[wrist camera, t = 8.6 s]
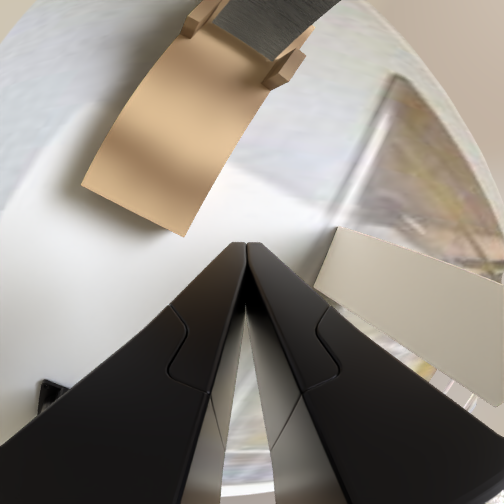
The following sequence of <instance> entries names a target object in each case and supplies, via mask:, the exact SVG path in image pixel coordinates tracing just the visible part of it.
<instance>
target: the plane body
mask: <svg viewBox="0 0 504 504" xmlns="http://www.w3.org/2000/svg"><path fill="white" fill-rule="evenodd" d="M229 1H230V0H203V1H202V2H201V3H200V4H199V5H198V6H197V7H196V8H195V9H194V10H193V11H192V12H191V13H190V14H189V15H188V16H187V18H186V20H185V23H184V25H183V28H182V30H181V32H180V34H179V35H178V36H177V38H176V39H175V40H174V41H173V42H172V43H171V45H170V46H169V47H168V48H167V49H166V51H165V52H164V53H163V54H162V56H161V57H160V58H159V59H158V61H157V62H156V63H155V64H154V66H153V67H152V68H151V70H150V71H149V72H148V74H147V75H146V76H145V78H144V79H143V80H142V82H141V83H140V85H139V86H138V87H137V89H136V90H135V92H134V93H133V95H132V96H131V97H130V99H129V100H128V102H127V103H126V105H125V106H124V108H123V110H122V111H121V113H120V114H119V116H118V117H117V119H116V121H115V122H114V124H113V126H112V127H111V129H110V131H109V132H108V134H107V136H106V137H105V139H104V141H103V143H102V145H101V146H100V148H99V150H98V152H97V154H96V155H95V157H94V159H93V161H92V163H91V165H90V167H89V169H88V171H87V173H86V175H85V177H84V179H83V181H82V183H81V186H83V187H85V188H87V189H89V190H91V191H93V192H95V193H97V194H99V195H101V196H103V197H105V198H106V199H108V200H110V201H112V202H114V203H116V204H118V205H120V206H122V207H124V208H126V209H128V210H130V211H132V212H134V213H136V214H138V215H140V216H142V217H144V218H146V219H148V220H150V221H152V222H154V223H156V224H158V225H160V226H162V227H164V228H166V229H168V230H170V231H172V232H174V233H176V234H178V235H180V236H182V237H185V235H186V233H187V231H188V229H189V227H190V225H191V223H192V222H193V220H194V218H195V216H196V214H197V212H198V211H199V209H200V207H201V205H202V203H203V201H204V200H205V198H206V196H207V194H208V192H209V191H210V189H211V187H212V185H213V184H214V182H215V180H216V178H217V177H218V175H219V173H220V171H221V170H222V168H223V166H224V165H225V163H226V161H227V160H228V158H229V156H230V155H231V153H232V151H233V150H234V148H235V146H236V145H237V143H238V141H239V140H240V138H241V136H242V135H243V133H244V131H245V130H246V128H247V127H248V125H249V123H250V122H251V120H252V119H253V117H254V116H255V114H256V112H257V111H258V109H259V108H260V106H261V105H262V103H263V102H264V100H265V99H266V97H267V96H268V94H269V92H270V91H271V90H273V89H275V88H277V87H279V86H281V85H283V84H285V83H287V82H289V81H290V79H291V78H292V76H293V75H294V73H295V72H296V70H297V69H298V67H299V66H300V64H301V63H302V61H303V60H304V59H305V57H306V55H305V54H304V53H302V52H301V51H300V50H299V49H300V48H301V46H302V45H303V44H304V42H305V41H306V39H307V38H308V37H309V35H310V34H311V33H312V31H313V30H314V29H315V27H314V26H313V25H311V26H310V27H309V28H307V29H306V30H305V31H304V32H303V33H302V34H301V35H300V36H299V37H298V38H296V39H295V40H294V41H293V42H292V43H291V44H290V45H289V46H288V47H287V48H286V49H285V50H284V51H283V52H282V53H281V54H280V55H279V56H278V57H277V58H276V59H275V60H274V61H273V62H272V61H270V60H269V59H268V58H266V57H265V56H263V55H262V54H260V53H259V52H258V51H256V50H255V49H253V48H252V47H250V46H249V45H247V44H246V43H244V42H243V41H241V40H240V39H238V38H236V37H235V36H233V35H232V34H230V33H228V32H227V31H225V30H224V29H222V28H220V27H219V26H217V25H215V24H213V23H212V21H213V20H214V19H215V18H216V16H217V15H218V14H219V13H220V12H221V10H222V9H223V8H224V7H225V6H226V4H227V3H228V2H229Z"/></svg>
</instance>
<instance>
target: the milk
mask: <svg viewBox="0 0 504 504" xmlns="http://www.w3.org/2000/svg"><path fill="white" fill-rule="evenodd" d="M314 288H315V289H317V290H318V291H320V292H321V293H323V294H324V295H326V296H327V297H329V298H330V299H332V300H334V301H335V302H337V303H338V304H340V305H341V306H343V307H344V308H346V309H347V310H349V311H350V312H352V313H353V314H355V315H356V316H358V317H359V318H361V319H362V320H364V321H365V322H367V323H368V324H370V325H372V326H373V327H375V328H376V329H378V330H379V331H381V332H382V333H384V334H385V335H387V336H388V337H390V338H391V339H393V340H394V341H396V342H397V343H399V344H400V345H402V346H403V347H405V348H406V349H408V350H409V351H411V352H412V353H414V354H415V355H417V356H418V357H420V358H421V359H423V360H424V361H426V362H427V363H429V364H430V365H432V366H433V367H435V368H436V369H438V370H439V371H441V372H442V373H444V374H445V375H447V376H449V377H450V378H452V379H453V380H455V381H456V382H458V383H459V384H461V385H462V386H464V387H465V388H467V389H468V390H470V391H471V392H472V393H474V394H475V395H477V396H478V397H480V398H481V399H483V400H485V401H486V402H487V403H489V404H490V405H492V406H494V407H498V406H499V405H501V404H502V403H504V285H503V284H500V283H498V282H495V281H493V280H490V279H488V278H485V277H483V276H480V275H478V274H475V273H473V272H470V271H468V270H465V269H463V268H460V267H457V266H455V265H452V264H449V263H447V262H444V261H441V260H439V259H436V258H433V257H430V256H428V255H425V254H422V253H419V252H416V251H414V250H411V249H408V248H405V247H402V246H399V245H396V244H393V243H390V242H387V241H384V240H381V239H378V238H375V237H372V236H369V235H366V234H363V233H360V232H357V231H354V230H351V229H347V228H344V227H341V226H338V228H337V231H336V233H335V236H334V238H333V241H332V243H331V246H330V248H329V251H328V253H327V255H326V258H325V260H324V263H323V265H322V267H321V270H320V272H319V275H318V277H317V279H316V281H315V284H314Z"/></svg>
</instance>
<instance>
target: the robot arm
mask: <svg viewBox="0 0 504 504" xmlns="http://www.w3.org/2000/svg"><path fill="white" fill-rule="evenodd" d="M245 309H246V317H247V324H248V330H249V336H250V342H251V348H252V354H253V360H254V366H255V371H256V377H257V383H258V389H259V394H260V400H261V406H262V411H263V417H264V422H265V428H266V433H267V439H268V444H269V450H270V455H271V461H272V468H273V478H274V489H275V501H276V504H504V437H502V436H500V435H499V434H497V433H496V432H494V431H493V430H492V429H490V428H489V427H488V426H486V425H485V424H484V423H482V422H481V421H480V420H478V419H477V418H476V417H474V416H473V415H472V414H470V413H469V412H468V411H466V410H465V409H464V408H462V407H461V406H460V405H458V404H457V403H456V402H454V401H453V400H452V399H450V398H449V397H447V396H446V395H445V394H443V393H442V392H441V391H439V390H438V389H437V388H435V387H434V386H433V385H431V384H430V383H429V382H427V381H426V380H425V379H423V378H422V377H421V376H419V375H418V374H417V373H415V372H414V371H413V370H411V369H410V368H409V367H407V366H406V365H405V364H403V363H402V362H400V361H399V360H398V359H396V358H395V357H394V356H392V355H391V354H390V353H388V352H387V351H386V350H384V349H383V348H382V347H380V346H379V345H378V344H376V343H375V342H374V341H372V340H371V339H370V338H369V337H367V336H366V335H365V334H363V333H362V332H361V331H360V330H358V329H357V328H356V327H355V326H354V325H352V324H351V323H350V322H349V321H348V320H347V319H345V318H344V317H343V316H342V315H341V314H340V313H339V312H338V311H337V310H335V309H334V308H333V307H332V306H330V305H329V304H328V303H327V302H326V301H325V300H324V299H323V298H322V297H320V296H319V295H318V294H317V293H316V292H315V291H314V290H313V289H312V288H311V287H310V286H308V285H307V284H306V283H305V282H304V281H303V280H302V279H301V278H300V277H299V276H297V275H296V274H295V273H294V272H293V271H292V270H291V269H290V268H289V267H288V266H286V265H285V264H284V263H283V262H282V261H281V260H280V259H279V258H278V257H276V256H275V255H274V254H273V253H272V252H271V251H270V250H269V249H268V248H266V247H265V246H264V245H263V244H262V243H260V242H248V243H247V244H246V243H244V242H232V243H230V244H229V245H228V246H227V247H226V248H225V249H224V250H223V251H222V252H221V253H220V254H219V255H218V256H217V257H216V258H215V259H214V260H213V261H212V262H211V263H210V264H209V265H208V266H207V267H206V268H205V269H204V270H203V271H202V272H201V273H200V274H199V275H198V276H197V277H196V278H195V279H194V280H193V281H192V282H191V283H190V284H189V285H188V286H187V287H186V288H185V289H184V290H183V291H182V292H181V293H180V294H179V295H178V296H177V297H176V298H175V299H174V300H173V301H172V302H171V303H170V304H169V305H167V306H166V307H165V308H164V309H163V310H162V311H161V312H160V313H159V314H158V315H157V316H156V317H155V318H154V319H153V320H152V321H151V322H150V323H149V324H148V325H147V326H146V327H145V328H144V329H142V330H141V331H140V332H139V333H138V334H137V335H135V336H134V337H133V338H132V339H131V340H130V341H128V342H127V343H126V344H125V345H124V346H122V347H121V348H120V349H119V350H117V351H116V352H115V353H114V354H112V355H111V356H110V357H109V358H108V359H106V360H105V361H104V362H103V363H101V364H100V365H99V366H98V367H96V368H95V369H94V370H93V371H92V372H90V373H89V374H88V375H87V376H85V377H84V378H83V379H82V380H80V381H79V382H78V383H77V384H76V385H74V386H73V387H72V388H71V389H68V388H65V387H63V386H60V385H58V384H55V383H53V382H50V381H48V380H43V381H42V384H41V390H40V397H39V405H38V414H37V417H35V418H34V419H33V420H32V421H31V422H29V423H28V424H27V425H26V426H25V427H23V428H22V429H21V430H20V431H19V432H17V433H16V434H15V435H14V436H13V437H11V438H10V439H9V440H8V441H7V442H5V443H4V444H3V445H1V446H0V504H220V496H221V485H222V474H223V465H224V458H225V451H226V444H227V437H228V430H229V424H230V417H231V410H232V403H233V397H234V390H235V383H236V376H237V369H238V362H239V356H240V349H241V342H242V335H243V328H244V321H245ZM46 385H47V386H46Z"/></svg>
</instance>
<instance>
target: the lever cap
mask: <svg viewBox="0 0 504 504" xmlns="http://www.w3.org/2000/svg"><path fill="white" fill-rule="evenodd" d="M339 1H341V0H230V1H229V2H228V3H227V4H226V6H225V7H224V8H223V9H222V10H221V12H220V13H219V14H218V15H217V16H216V18H215V19H214V20H213V21H212V23H213V24H215V25H217V26H219V27H220V28H222V29H224V30H225V31H227V32H228V33H230V34H232V35H233V36H235V37H236V38H238V39H240V40H241V41H243V42H244V43H246V44H247V45H249V46H250V47H252V48H253V49H255V50H256V51H258V52H259V53H260V54H262V55H263V56H265V57H266V58H268V59H269V60H270V61H272V62H273V61H274V60H275V59H276V58H277V57H278V56H279V55H280V54H281V53H282V52H283V51H284V50H285V49H286V48H287V47H288V46H289V45H290V44H291V43H292V42H293V41H294V40H295V39H296V38H298V37H299V36H300V35H301V34H302V33H303V32H304V31H305V30H306V29H307V28H309V27H310V26H311V25H312V24H313V23H314V22H315V21H317V20H318V19H319V18H320V17H321V16H322V15H324V14H325V13H326V12H327V11H328V10H330V9H331V8H332V7H333V6H334V5H336V4H337V3H338V2H339Z"/></svg>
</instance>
